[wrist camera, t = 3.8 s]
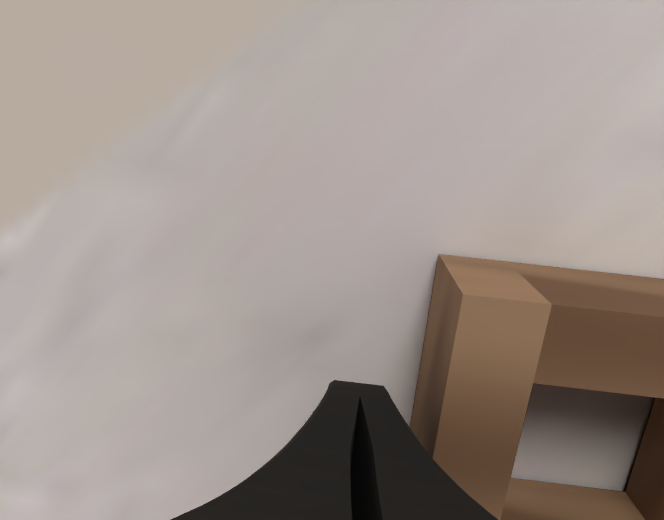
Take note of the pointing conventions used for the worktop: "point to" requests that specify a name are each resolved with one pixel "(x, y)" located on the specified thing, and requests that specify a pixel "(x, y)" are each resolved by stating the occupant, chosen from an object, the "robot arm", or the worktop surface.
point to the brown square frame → (536, 378)
